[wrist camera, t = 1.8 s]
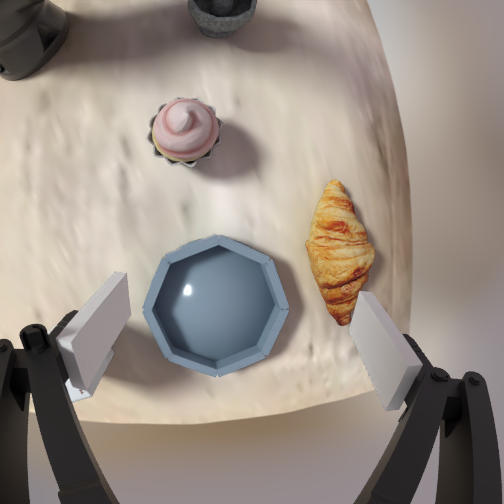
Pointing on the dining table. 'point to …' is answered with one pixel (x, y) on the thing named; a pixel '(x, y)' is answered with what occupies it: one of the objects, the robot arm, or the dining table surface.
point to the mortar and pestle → (221, 15)
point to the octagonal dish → (215, 305)
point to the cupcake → (184, 131)
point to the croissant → (339, 252)
